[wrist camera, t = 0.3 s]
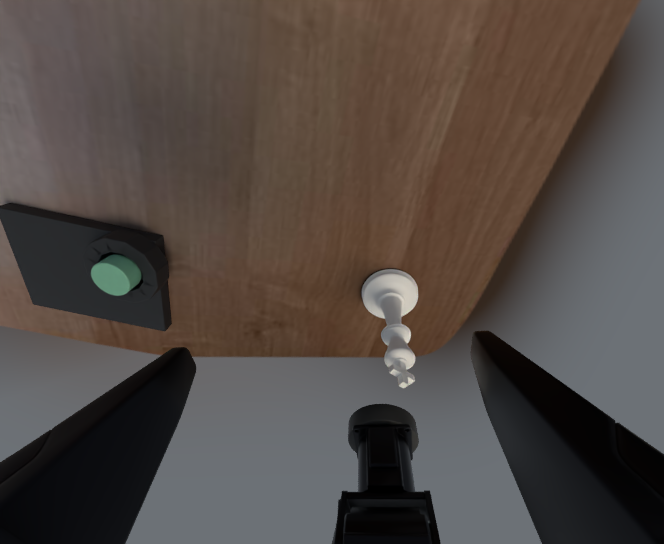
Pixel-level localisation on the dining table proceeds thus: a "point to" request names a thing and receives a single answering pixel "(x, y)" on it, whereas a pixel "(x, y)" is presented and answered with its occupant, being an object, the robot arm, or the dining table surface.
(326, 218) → the dining table surface
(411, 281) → the chess piece
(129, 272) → the button
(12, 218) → the black button base
